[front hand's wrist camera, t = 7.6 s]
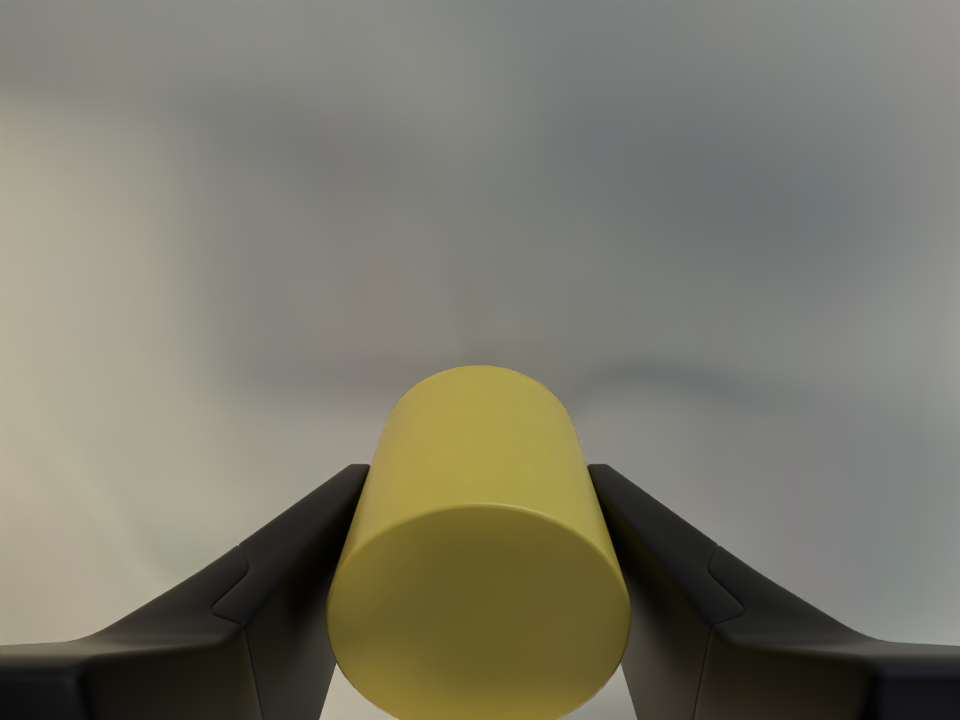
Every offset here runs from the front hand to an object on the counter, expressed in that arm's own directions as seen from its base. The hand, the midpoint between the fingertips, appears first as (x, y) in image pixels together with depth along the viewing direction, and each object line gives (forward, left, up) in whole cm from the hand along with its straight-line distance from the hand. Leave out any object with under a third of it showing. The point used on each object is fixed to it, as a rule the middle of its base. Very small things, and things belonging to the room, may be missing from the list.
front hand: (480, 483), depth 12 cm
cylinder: (0, 0, -1) cm, 1 cm away
